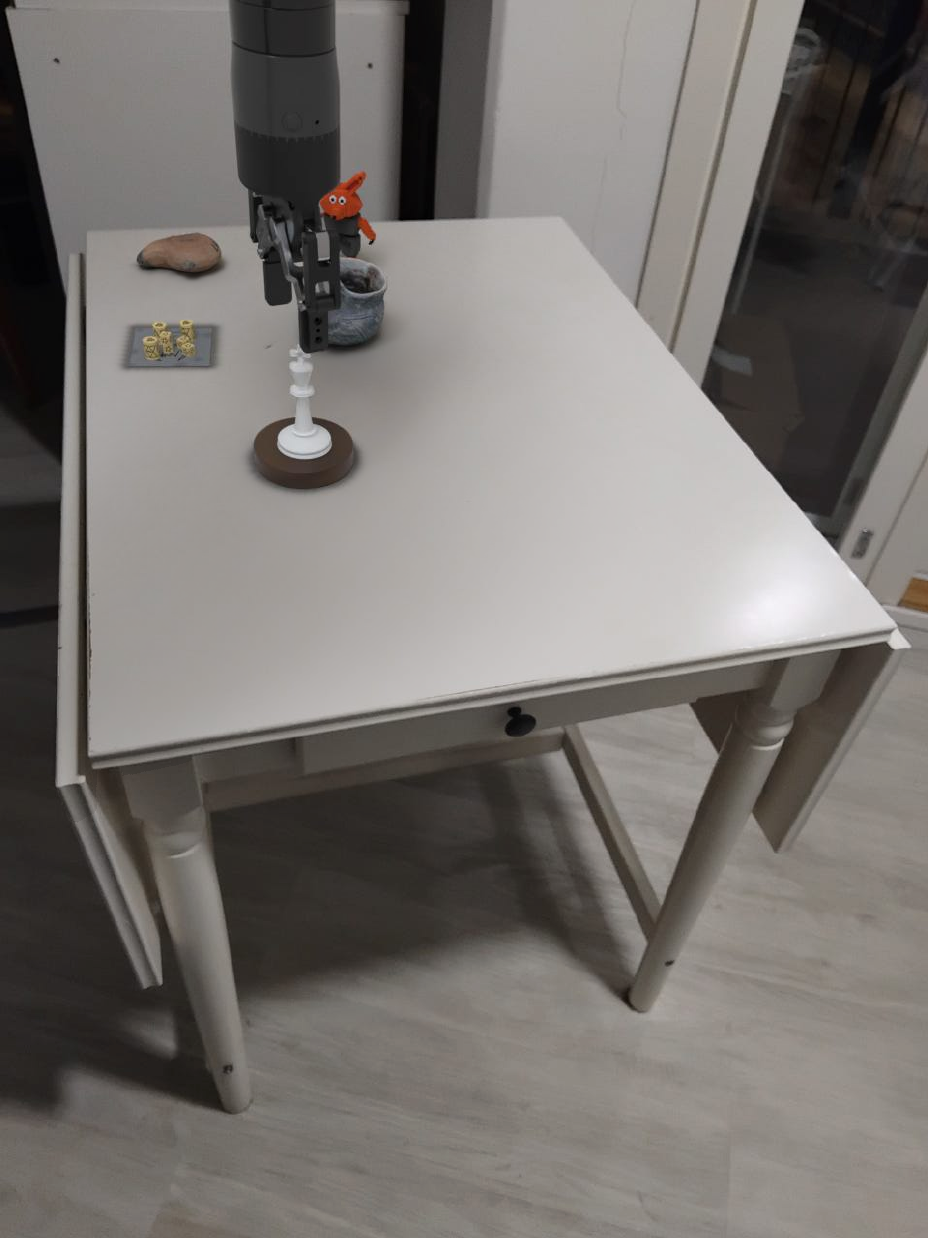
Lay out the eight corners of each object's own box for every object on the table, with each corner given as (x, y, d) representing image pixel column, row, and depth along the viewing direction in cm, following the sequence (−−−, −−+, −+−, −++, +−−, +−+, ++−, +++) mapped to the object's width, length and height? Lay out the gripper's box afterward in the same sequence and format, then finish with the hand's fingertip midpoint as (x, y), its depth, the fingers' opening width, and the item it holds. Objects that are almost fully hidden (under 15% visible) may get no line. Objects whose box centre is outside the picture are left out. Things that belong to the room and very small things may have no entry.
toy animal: (302, 282, 113) (297, 178, 105) (313, 263, 117) (309, 161, 109) (368, 291, 113) (369, 187, 104) (376, 271, 117) (378, 170, 108)
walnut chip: (273, 497, 83) (272, 481, 82) (242, 443, 89) (240, 426, 88) (368, 476, 87) (368, 460, 86) (332, 424, 92) (331, 408, 91)
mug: (394, 323, 108) (397, 236, 101) (369, 379, 99) (370, 287, 92) (312, 310, 108) (309, 223, 101) (279, 365, 99) (273, 273, 92)
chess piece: (328, 461, 85) (326, 361, 78) (273, 457, 85) (265, 356, 78) (334, 430, 88) (332, 332, 81) (281, 427, 88) (275, 327, 81)
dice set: (144, 360, 98) (141, 343, 97) (148, 335, 101) (146, 319, 100) (195, 360, 99) (193, 343, 97) (197, 335, 102) (195, 319, 101)
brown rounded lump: (178, 252, 118) (133, 276, 113) (170, 219, 115) (123, 242, 110) (234, 263, 114) (190, 287, 109) (227, 229, 112) (182, 253, 107)
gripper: (375, 145, 64) (371, 360, 76) (302, 81, 73) (308, 282, 84) (269, 153, 61) (281, 376, 73) (206, 86, 70) (225, 294, 81)
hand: (295, 325), depth 78 cm, fingers open, 8 cm apart
